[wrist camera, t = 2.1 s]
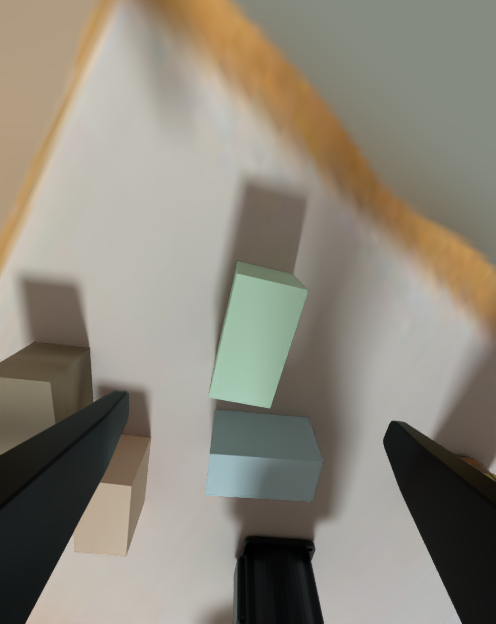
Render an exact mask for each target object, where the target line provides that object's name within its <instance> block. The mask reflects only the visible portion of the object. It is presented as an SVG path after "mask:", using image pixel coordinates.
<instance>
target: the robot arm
mask: <svg viewBox="0 0 496 624" xmlns="http://www.w3.org/2000/svg"><path fill="white" fill-rule="evenodd" d="M128 415H129V393H128V392H127V391H118V390H115V391H113V392H111V393H109V394H108V395H106V396H104V397H102V398H100V399H99V400H97V401H95V402H93V403H92V404H90V405H88V406H86V407H84V408H83V409H81V410H79V411H77V412H76V413H74V414H72V415H70V416H68V417H67V418H65V419H63V420H61V421H59V422H58V423H56V424H54V425H52V426H51V427H49V428H47V429H45V430H43V431H42V432H40V433H38V434H36V435H35V436H33V437H31V438H29V439H27V440H26V441H24V442H22V443H20V444H19V445H17V446H15V447H13V448H11V449H10V450H8V451H6V452H4V453H3V454H1V455H0V624H25V623H26V621H27V619H28V617H29V615H30V614H31V612H32V610H33V608H34V606H35V604H36V602H37V600H38V598H39V597H40V595H41V593H42V591H43V589H44V587H45V585H46V583H47V581H48V580H49V578H50V576H51V574H52V572H53V570H54V568H55V566H56V565H57V563H58V561H59V559H60V557H61V555H62V553H63V551H64V549H65V548H66V546H67V544H68V542H69V540H70V538H71V536H72V534H73V532H74V531H75V529H76V527H77V525H78V523H79V521H80V519H81V517H82V515H83V514H84V512H85V510H86V508H87V506H88V504H89V502H90V500H91V499H92V497H93V495H94V493H95V491H96V489H97V487H98V485H99V483H100V482H101V480H102V478H103V476H104V474H105V472H106V470H107V468H108V466H109V464H110V461H111V459H112V456H113V454H114V452H115V449H116V447H117V444H118V442H119V439H120V437H121V434H122V432H123V429H124V427H125V424H126V422H127V419H128ZM383 444H384V448H385V451H386V453H387V456H388V459H389V462H390V464H391V467H392V470H393V472H394V475H395V478H396V481H397V483H398V486H399V489H400V491H401V493H402V496H403V498H404V500H405V502H406V505H407V507H408V509H409V511H410V513H411V515H412V517H413V520H414V522H415V524H416V526H417V528H418V530H419V532H420V535H421V537H422V539H423V541H424V543H425V545H426V547H427V550H428V552H429V554H430V556H431V558H432V560H433V562H434V565H435V567H436V569H437V571H438V573H439V575H440V577H441V580H442V582H443V584H444V586H445V588H446V590H447V592H448V595H449V597H450V599H451V601H452V603H453V605H454V608H455V610H456V612H457V614H458V616H459V618H460V620H461V623H462V624H496V481H494V480H493V479H491V478H490V477H488V476H487V475H485V474H484V473H482V472H480V471H479V470H477V469H476V468H474V467H473V466H471V465H470V464H468V463H467V462H465V461H464V460H462V459H461V458H459V457H457V456H456V455H454V454H453V453H451V452H450V451H448V450H447V449H445V448H444V447H442V446H441V445H439V444H438V443H436V442H434V441H433V440H431V439H430V438H428V437H427V436H425V435H424V434H422V433H421V432H419V431H418V430H416V429H415V428H413V427H411V426H410V425H408V424H407V423H405V422H402V421H391V422H390V424H389V426H388V429H387V431H386V433H385V436H384V439H383ZM314 552H315V545H314V542H312V541H300V540H286V539H271V538H257V537H248V538H246V539H245V543H244V547H243V551H242V556H240V557H239V558H238V559H237V563H236V568H235V572H234V598H233V624H324V621H323V616H322V611H321V607H320V602H319V597H318V592H317V587H316V582H315V578H314V573H313V568H312V563H311V560H312V558H313V555H314Z"/></svg>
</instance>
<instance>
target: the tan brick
mask: <svg viewBox="0 0 496 624" xmlns="http://www.w3.org/2000/svg"><path fill="white" fill-rule="evenodd" d="M150 443H151V438H149V437H141V436H133V435H126V434H121V437H120V439H119V442H118V444H117V447H116V449H115V452H114V454H113V456H112V459H111V461H110V464H109V466H108V468H107V470H106V472H105V474H104V476H103V478H102V480H101V482H100V483H99V485H98V487H97V489H96V491H95V493H94V495H93V497H92V499H91V500H90V502H89V504H88V506H87V508H86V510H85V512H84V514H83V515H82V517H81V519H80V521H79V523H78V525H77V527H76V529H75V531H74V549H75V552H80V553H91V554H103V555H114V556H126V555H127V552H128V549H129V546H130V543H131V540H132V537H133V534H134V531H135V528H136V525H137V522H138V519H139V516H140V513H141V510H142V507H143V504H144V501H145V491H146V481H147V472H148V462H149V452H150Z"/></svg>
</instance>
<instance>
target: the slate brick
mask: <svg viewBox="0 0 496 624" xmlns="http://www.w3.org/2000/svg"><path fill="white" fill-rule="evenodd" d="M322 466H323V459H322V456H321V453H320V450H319V447H318V444H317V441H316V438H315V436H314V433H313V430H312V427H311V424H310V421H309V418H308V417H297V416H286V415H274V414H262V413H250V412H238V411H226V410H215V416H214V424H213V432H212V439H211V447H210V455H209V465H208V474H207V484H206V494H205V495H210V496H226V497H242V498H258V499H274V500H290V501H307V502H312V500H313V496H314V493H315V490H316V486H317V483H318V479H319V476H320V473H321V469H322Z"/></svg>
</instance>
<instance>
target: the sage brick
mask: <svg viewBox="0 0 496 624" xmlns="http://www.w3.org/2000/svg"><path fill="white" fill-rule="evenodd" d="M307 293H308V289H307V288H306V287H305V286H304V285H303V284H302V283H301V282H300V281H299V280H298V279H297V278H296V277H295V276H294V275H293V274H290V273H286V272H282V271H278V270H273V269H269V268H265V267H261V266H257V265H252V264H248V263H244V262H240V261H237V265H236V270H235V274H234V278H233V283H232V287H231V292H230V296H229V300H228V305H227V309H226V314H225V318H224V323H223V327H222V331H221V336H220V340H219V345H218V349H217V354H216V358H215V363H214V368H213V374H212V379H211V385H210V391H209V396H208V397H209V398H215V399H220V400H226V401H231V402H237V403H242V404H248V405H253V406H259V407H265V408H270V407H271V404H272V401H273V398H274V395H275V392H276V389H277V386H278V383H279V380H280V377H281V373H282V370H283V367H284V364H285V361H286V358H287V355H288V352H289V349H290V346H291V343H292V340H293V337H294V333H295V330H296V327H297V324H298V321H299V318H300V315H301V312H302V309H303V306H304V303H305V300H306V297H307Z"/></svg>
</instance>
